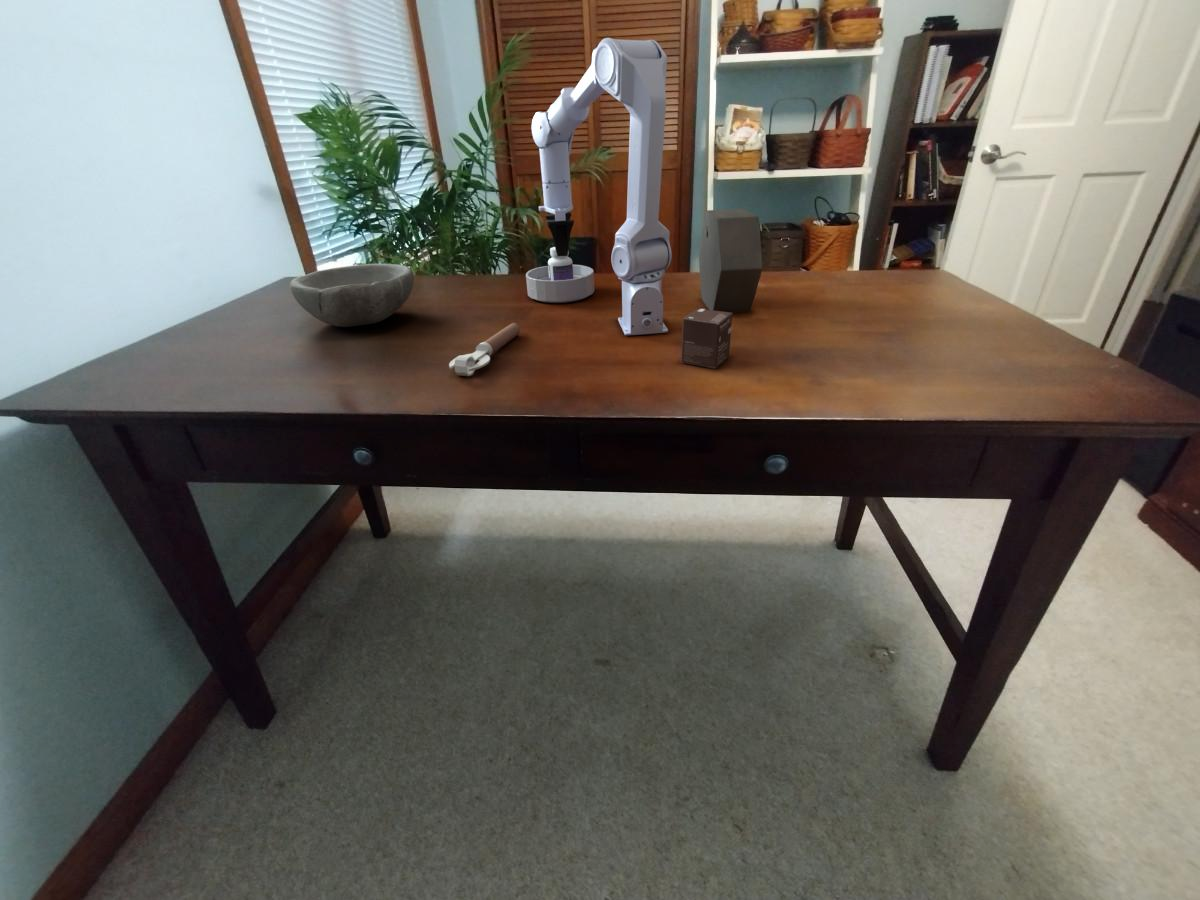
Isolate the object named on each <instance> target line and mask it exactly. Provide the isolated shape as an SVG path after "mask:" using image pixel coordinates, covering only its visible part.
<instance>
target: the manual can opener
mask: <svg viewBox="0 0 1200 900" xmlns="http://www.w3.org/2000/svg"><path fill="white" fill-rule="evenodd" d="M520 333H521V327H520V325H519V324H518V323H516V322H511V323H510V324H509V325H507V326H506V327H504V328H503V329H501V330H500V331H498V332H497V333H495V334H493V335H492V336H491V337H489V338H488V339H486V340H485V341H483V342H480V343H479V344H477V345H476V346H475V351H473V352H472V353H466V354H462V355H457V356H456V357H455V358H453V359H452V360H451V361H450V362H449V364H448V367H449V370H452V369H453V368H454V372H455V374H456V376H463V377H471V376H472V375H474V374H475V371H476V370H479V369H481V368H483V367H485V366H487V365H488V364H489V363H490V362H491V356H492V355H493V354H494V353H495V352H497V351H499V349H500V348H502V347H503V346H505V345H507V343H509V342H510V341H511V340H513V339H514V338H516V337H517V336H518V335H520ZM476 361H478V362H477V363H476Z"/></svg>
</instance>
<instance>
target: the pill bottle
mask: <svg viewBox="0 0 1200 900" xmlns="http://www.w3.org/2000/svg"><path fill="white" fill-rule="evenodd" d="M549 252H550V253H549V254H550V257H551V258H549V259H548V261H547V266H548V271H549V280H552V281H557V280H569V279H573V265H574V264H573V260H572V259H573V258H571V257H569V253H570V252H569V250H568V255H567V256H557V253H556V249H555V246H552V247H550V248H549Z"/></svg>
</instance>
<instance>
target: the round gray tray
mask: <svg viewBox="0 0 1200 900" xmlns="http://www.w3.org/2000/svg"><path fill="white" fill-rule="evenodd" d="M594 271H595V270H594V269H593V268H591V267H589V266H587V265H582V264H573V279H569V280H557V281H552V280H549V271H548V265H545V266H539V267H535V268H532V269H529V270H528V271H527V272H526V273H525V280H526V290H527V296H528V297H529V298H530V299H533V300H535V301H538V302H541V303H547V304H565V303H572V302H578V301H580V300H584V299H585V298H588V297H589V296H591V295H593V294H594V293H595V272H594Z"/></svg>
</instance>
